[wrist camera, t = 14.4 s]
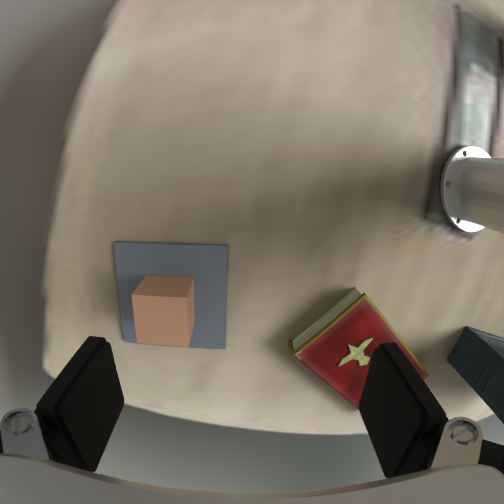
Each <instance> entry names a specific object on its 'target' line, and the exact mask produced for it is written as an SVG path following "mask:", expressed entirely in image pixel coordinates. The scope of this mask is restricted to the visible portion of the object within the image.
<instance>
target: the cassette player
mask: <svg viewBox="0 0 504 504" xmlns="http://www.w3.org/2000/svg"><path fill="white" fill-rule="evenodd" d="M447 361H448V362H449V363H450V364H451V365H452V366H453V367H454V368H455V370H456V371H457V372H458V373H459V374H460V375H461V376H462V377H463V378H464V379H465V380H466V382H467V383H468V384H469V385H470V386H471V387H472V388H473V389H474V390H475V391H476V393H477V394H478V395H479V396H480V397H481V398H482V399H483V400H484V402H485V403H486V404H487V405H488V406H489V407H490V408H491V410H492V411H493V412H494V413H495V414H496V415H497V417H498V418H499V419H500V420H501V421H502V422H503V424H504V338H502V337H499V336H495V335H492V334H489V333H486V332H483V331H480V330H477V329H474V328H471V327H468V326H466V327H465V329H464V331H463V333H462V334H461V336H460V338H459V340H458V342H457V343H456V345H455V347H454V349H453V350H452V352H451V354H450V355H449V357H448V359H447Z"/></svg>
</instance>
